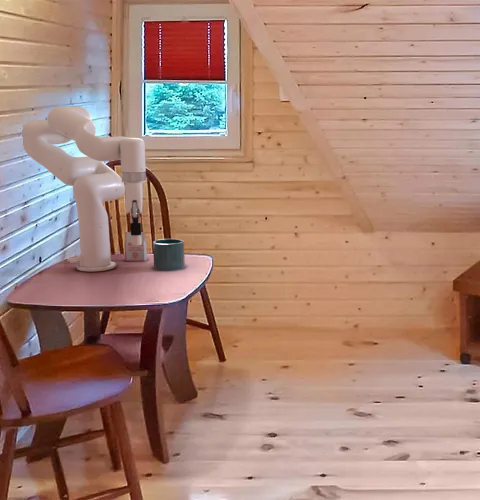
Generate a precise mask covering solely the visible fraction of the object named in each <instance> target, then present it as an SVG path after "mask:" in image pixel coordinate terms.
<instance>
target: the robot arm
mask: <svg viewBox="0 0 480 500" xmlns="http://www.w3.org/2000/svg"><path fill="white" fill-rule="evenodd" d="M92 120H93V119H92V115H91V113H90V111H89V110H87V108H85V107H82V106H79V105H76V106H67V105H65V106H57V107H53V108H52V109H51V110H50V111H49V112H48V113H47V116H46V119H36V120H35V119H34V120H30V121H27V122H25V123H23V124H22V126H23V130H22V137H23V146H24V148H23V150H24V151H25V153H26V154H27V155H28V157H30V158H31V159H32V160H33V161H35V162H36V163H38V164H39V165H41V167H43V168H45V169H46V170H47V171H48V172H49V173H51V175H53V176H54V177H56V179H58V180H59V181H60V182H62V183H63V184H64V185H66V186H69V187H72V193H73V197H74V201H75V203H76V204H75V205H76V211H77V221H78V235H79V248H80V250H79V251H80V254H79V255H77V256H76V257H73V256H72V257H71V256H70V257H66V263H67V264H70V265H73V264H77V265H76V270H78V271H80V272H89V273H91V272H93V273H94V272H105V271H109V270H113V269H115V268H116V266H117V264H116V262H115V261H112V259H111V257H112V256H111V242H110V225H109V215H108V212H107V210H106V208H105V207H104V204H103V203H105V202H112V201H117V200H119V199H120V198H122V197H123V195H124V196H125V200H124V201H125V214H127V215H128V214H129V213H130V217H131V222H129V223H130V226H129V227H130V232H131V235H132V236H133V235H141V232H142V222H141V223H140V217H141V214H142V213H143V203H144V201H143V200H144V198H143V197H144V194H143V193H144V192H143V190H144V189H143V184H144V183H147V172H146V171H147V168H146V167H147V166H146V165H147V164H146V143H145V140H143V138H139V137H127V136H122V135H117V136H98V135H96V134H97V133H96V132H97V127H96V124H95V123H94V122H93V121H92ZM70 141H74V142H75V145H76V147H77V149H78V151H79V152H80V153H81V154H83V155H85V156H72V155H70V154H69V153H68V152H66V150H64V149H62V148H61V147H59V146H57V145H60V144H66V143H69V142H70ZM23 146H22V147H23ZM110 161H120V172H121V173H120V174H121V176H120V175H119V174H118V173H117V172H116V171H115V170H113V169H112V168H111V167H109V166H108V165H107V164H106V163H104V162H110Z"/></svg>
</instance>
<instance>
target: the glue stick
mask: <svg viewBox="0 0 480 500" xmlns="http://www.w3.org/2000/svg"><path fill="white" fill-rule="evenodd" d="M129 223H131V216H130V217H129ZM140 223H141V224H142V217H141V216H140ZM131 245H134V246H138V245H142V239H141V235H133V236H132V235H131Z"/></svg>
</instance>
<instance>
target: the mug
mask: <svg viewBox="0 0 480 500" xmlns="http://www.w3.org/2000/svg"><path fill="white" fill-rule="evenodd" d="M152 248H153V249H152V251H153V269H154V270H156V271H163V272H168V271H169V272H170V271H179V270H182V269H184V268H185V267H186V257H185V240H183V239H180V238H162V239H157V240H153V241H152Z"/></svg>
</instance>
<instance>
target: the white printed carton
mask: <svg viewBox="0 0 480 500" xmlns="http://www.w3.org/2000/svg"><path fill="white" fill-rule="evenodd" d="M145 233H146V232H145V231H144V232H142V231H141V239H142V245H138V246H134V245H131V231H128V232H127V231H126V232H124V261H125V262H145V261H147V260H148V250H147V248H148V247H147V239H146V234H145Z"/></svg>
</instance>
